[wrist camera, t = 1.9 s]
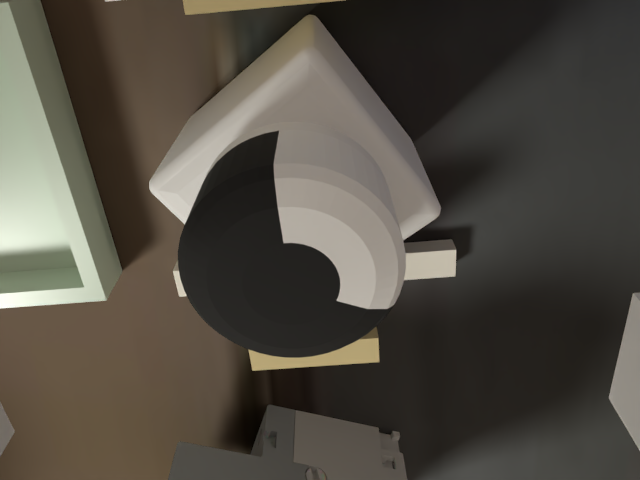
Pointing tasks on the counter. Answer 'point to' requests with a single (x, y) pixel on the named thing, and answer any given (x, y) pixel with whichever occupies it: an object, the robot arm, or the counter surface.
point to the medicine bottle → (295, 201)
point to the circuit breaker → (298, 452)
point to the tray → (45, 177)
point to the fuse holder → (420, 256)
